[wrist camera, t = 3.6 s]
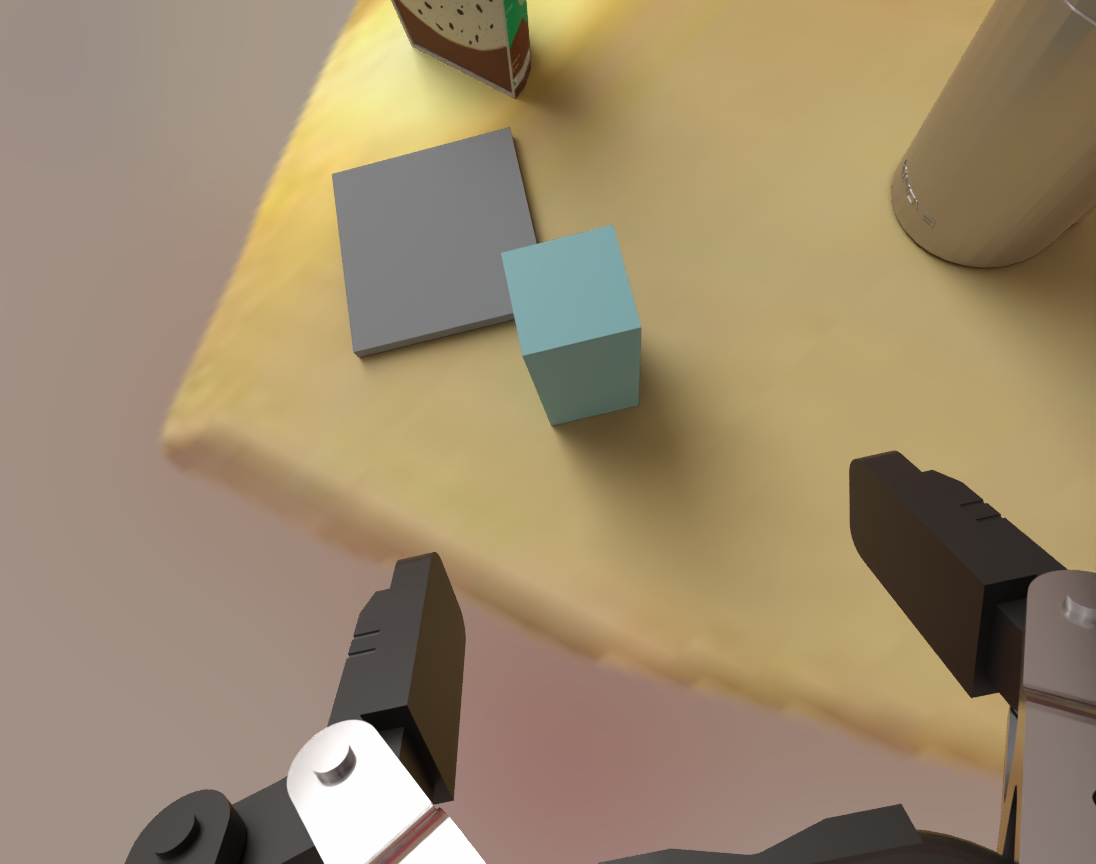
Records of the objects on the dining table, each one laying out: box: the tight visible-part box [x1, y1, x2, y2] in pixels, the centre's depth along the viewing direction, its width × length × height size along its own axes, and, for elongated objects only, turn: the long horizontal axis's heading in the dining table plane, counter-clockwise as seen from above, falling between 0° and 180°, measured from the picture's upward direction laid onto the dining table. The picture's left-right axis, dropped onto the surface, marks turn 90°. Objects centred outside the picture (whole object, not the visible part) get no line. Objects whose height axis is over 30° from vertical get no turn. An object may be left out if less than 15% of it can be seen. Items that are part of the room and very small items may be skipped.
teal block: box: [501, 225, 641, 426], centre depth 32 cm, size 5×5×10 cm
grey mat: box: [332, 127, 537, 357], centre depth 40 cm, size 12×13×1 cm
